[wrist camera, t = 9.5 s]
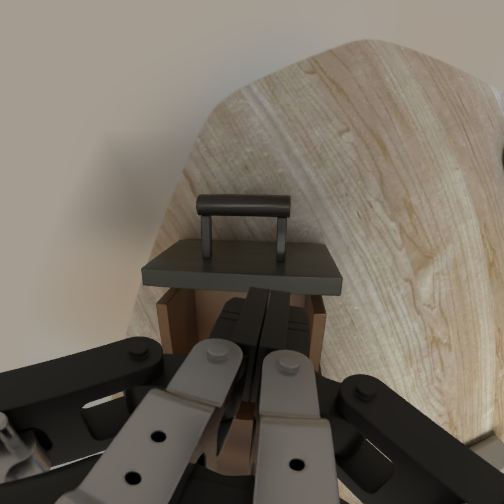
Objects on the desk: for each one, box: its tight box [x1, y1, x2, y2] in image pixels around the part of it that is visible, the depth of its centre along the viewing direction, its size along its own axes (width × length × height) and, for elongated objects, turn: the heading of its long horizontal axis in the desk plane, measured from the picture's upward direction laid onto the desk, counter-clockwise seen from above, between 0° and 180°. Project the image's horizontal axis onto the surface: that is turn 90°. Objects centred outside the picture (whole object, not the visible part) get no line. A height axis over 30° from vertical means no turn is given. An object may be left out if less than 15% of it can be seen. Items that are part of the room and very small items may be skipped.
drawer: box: [141, 194, 343, 414], centre depth 22 cm, size 19×12×8 cm, turn 179°
